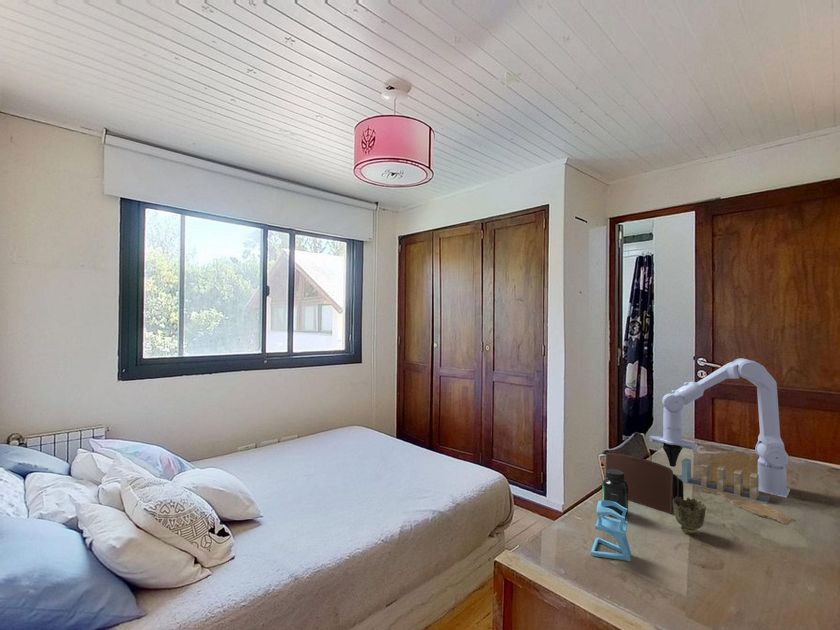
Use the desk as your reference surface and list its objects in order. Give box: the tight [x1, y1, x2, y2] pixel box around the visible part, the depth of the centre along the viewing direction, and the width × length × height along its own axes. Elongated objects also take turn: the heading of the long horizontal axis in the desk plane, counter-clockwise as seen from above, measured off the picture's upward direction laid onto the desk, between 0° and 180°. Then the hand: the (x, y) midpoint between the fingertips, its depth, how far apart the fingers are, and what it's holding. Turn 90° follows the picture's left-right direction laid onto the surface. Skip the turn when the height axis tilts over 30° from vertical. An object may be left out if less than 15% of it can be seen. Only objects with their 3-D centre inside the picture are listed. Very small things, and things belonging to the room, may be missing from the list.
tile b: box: [716, 465, 727, 493], centre depth 136 cm, size 2×5×7 cm, turn 132°
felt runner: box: [675, 474, 771, 505], centre depth 137 cm, size 7×26×1 cm, turn 43°
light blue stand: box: [590, 499, 632, 562], centre depth 99 cm, size 8×8×12 cm
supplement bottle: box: [602, 469, 629, 518], centre depth 120 cm, size 7×7×12 cm
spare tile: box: [681, 457, 692, 484], centre depth 143 cm, size 2×5×7 cm, turn 132°
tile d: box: [748, 472, 760, 501], centre depth 129 cm, size 2×5×7 cm, turn 132°
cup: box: [673, 496, 707, 536], centre depth 109 cm, size 8×7×8 cm
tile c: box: [733, 469, 744, 497], centre depth 132 cm, size 2×5×7 cm, turn 133°
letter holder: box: [605, 452, 685, 515], centre depth 129 cm, size 10×20×14 cm, turn 40°
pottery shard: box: [730, 499, 796, 526], centre depth 120 cm, size 8×16×2 cm, turn 12°
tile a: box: [700, 462, 711, 489], centre depth 139 cm, size 2×5×7 cm, turn 132°
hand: (672, 465), depth 146 cm, fingers closed
